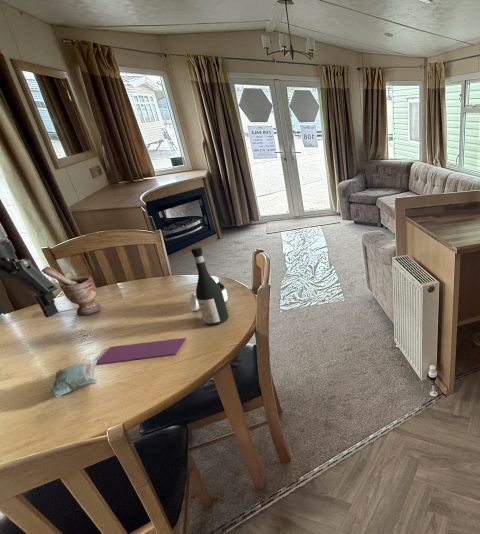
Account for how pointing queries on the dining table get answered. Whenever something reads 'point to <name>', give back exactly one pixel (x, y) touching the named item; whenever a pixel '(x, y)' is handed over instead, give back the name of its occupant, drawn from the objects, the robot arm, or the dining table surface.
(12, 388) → the dining table surface
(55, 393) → the packaged food
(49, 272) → the mortar and pestle
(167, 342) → the cloth
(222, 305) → the wine bottle
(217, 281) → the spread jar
